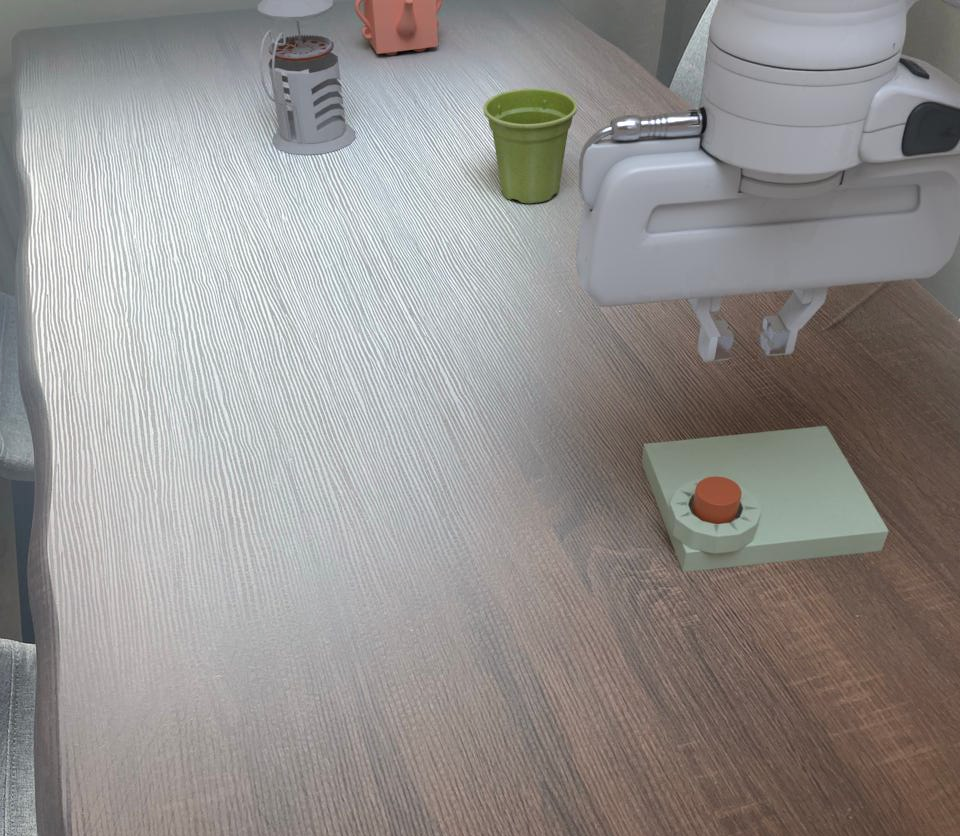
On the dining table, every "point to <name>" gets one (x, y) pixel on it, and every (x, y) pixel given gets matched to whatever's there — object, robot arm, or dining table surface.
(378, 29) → the teapot
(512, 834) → the dining table surface
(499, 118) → the plant pot
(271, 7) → the french press
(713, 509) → the red push button
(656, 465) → the red button base
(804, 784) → the dining table surface
